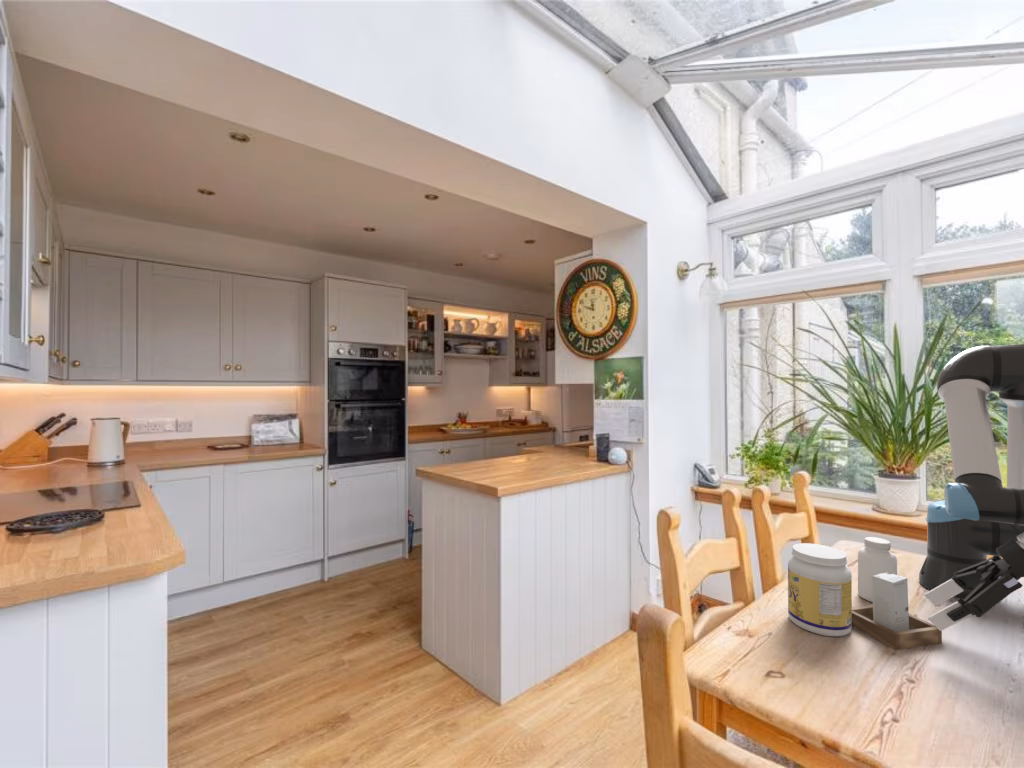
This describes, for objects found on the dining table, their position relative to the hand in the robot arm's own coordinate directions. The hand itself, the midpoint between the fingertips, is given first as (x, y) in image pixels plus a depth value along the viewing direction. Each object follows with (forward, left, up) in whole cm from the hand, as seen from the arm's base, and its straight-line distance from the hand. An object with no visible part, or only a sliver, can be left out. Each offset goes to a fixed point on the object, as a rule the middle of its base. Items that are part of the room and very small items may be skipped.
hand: (931, 611), depth 100 cm
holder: (+4, -5, -6) cm, 9 cm away
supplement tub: (+17, -11, -7) cm, 21 cm away
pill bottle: (-9, -19, -7) cm, 22 cm away
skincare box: (+4, -5, -7) cm, 10 cm away
